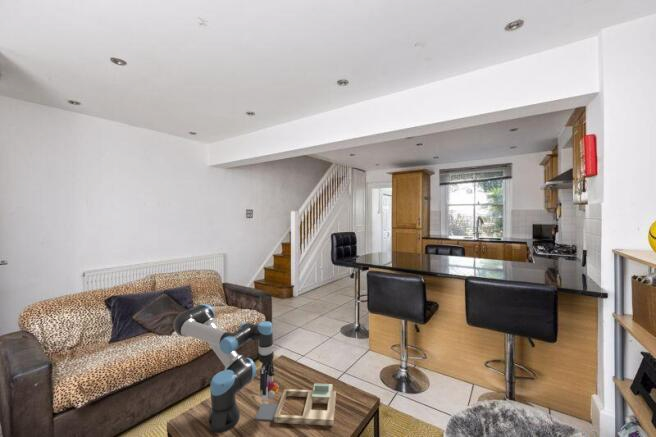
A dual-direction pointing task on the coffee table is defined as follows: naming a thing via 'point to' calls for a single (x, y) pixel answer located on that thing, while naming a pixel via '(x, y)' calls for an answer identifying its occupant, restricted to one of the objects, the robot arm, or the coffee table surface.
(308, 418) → the board
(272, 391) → the rainbow toy vehicle
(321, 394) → the lid
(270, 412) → the mat
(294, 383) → the coffee table surface
